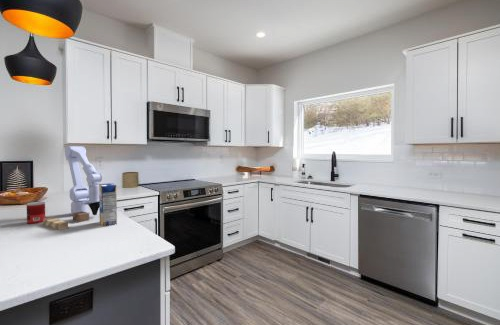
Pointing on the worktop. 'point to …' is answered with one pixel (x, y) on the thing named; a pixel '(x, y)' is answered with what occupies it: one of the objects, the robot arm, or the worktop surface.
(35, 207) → the canned food
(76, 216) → the walnut block
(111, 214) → the beverage box
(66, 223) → the tan faceted bar
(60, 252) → the worktop surface
